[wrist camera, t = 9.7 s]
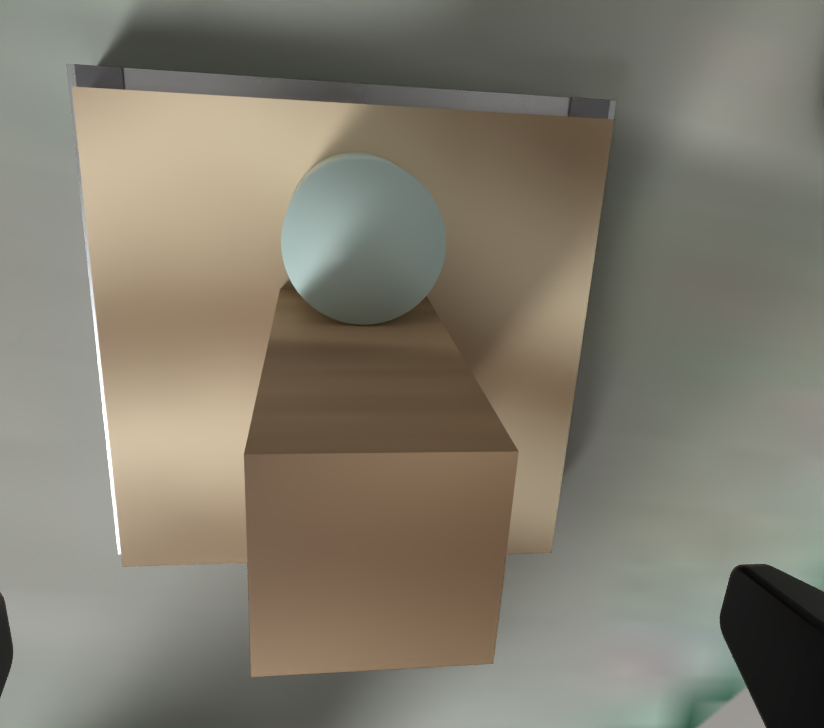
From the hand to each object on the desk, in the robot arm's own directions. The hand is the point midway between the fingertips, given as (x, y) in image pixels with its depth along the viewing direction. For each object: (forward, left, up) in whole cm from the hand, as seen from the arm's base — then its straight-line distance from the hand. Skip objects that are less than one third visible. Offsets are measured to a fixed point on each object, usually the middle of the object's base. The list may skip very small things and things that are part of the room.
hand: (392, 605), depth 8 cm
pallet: (0, 0, -11) cm, 11 cm away
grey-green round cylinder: (+3, 0, -9) cm, 10 cm away
